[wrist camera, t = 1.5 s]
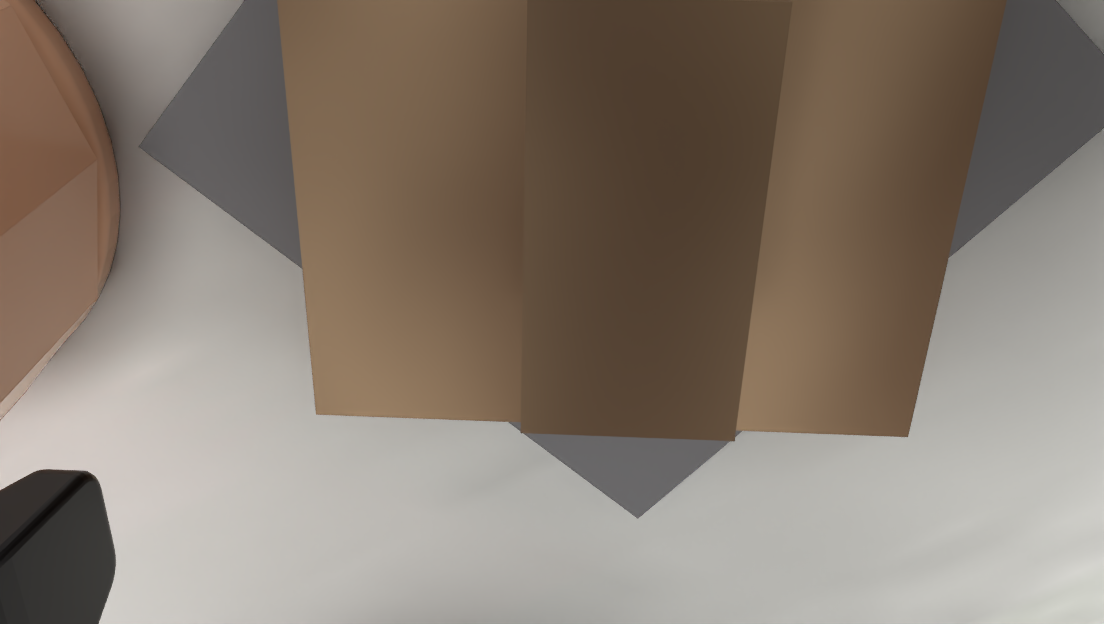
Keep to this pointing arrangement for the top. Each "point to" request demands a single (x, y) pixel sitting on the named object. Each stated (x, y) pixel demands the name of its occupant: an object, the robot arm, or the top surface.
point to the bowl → (48, 196)
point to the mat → (609, 462)
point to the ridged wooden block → (630, 207)
